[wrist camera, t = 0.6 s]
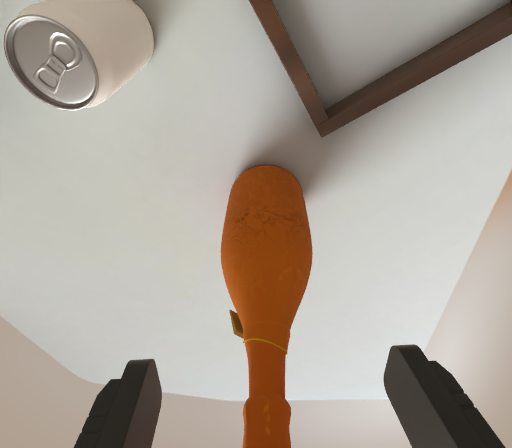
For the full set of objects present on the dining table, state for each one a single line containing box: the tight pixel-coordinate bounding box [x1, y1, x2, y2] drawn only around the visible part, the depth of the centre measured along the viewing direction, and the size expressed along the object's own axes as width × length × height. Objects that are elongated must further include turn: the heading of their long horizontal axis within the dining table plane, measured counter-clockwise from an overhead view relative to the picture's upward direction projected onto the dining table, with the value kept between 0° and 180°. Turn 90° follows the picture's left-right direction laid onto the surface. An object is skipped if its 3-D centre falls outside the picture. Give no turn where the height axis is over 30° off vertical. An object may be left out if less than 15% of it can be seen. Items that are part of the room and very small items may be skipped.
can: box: [4, 0, 154, 111], centre depth 24 cm, size 6×6×12 cm
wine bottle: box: [221, 165, 312, 448], centre depth 29 cm, size 10×10×30 cm
